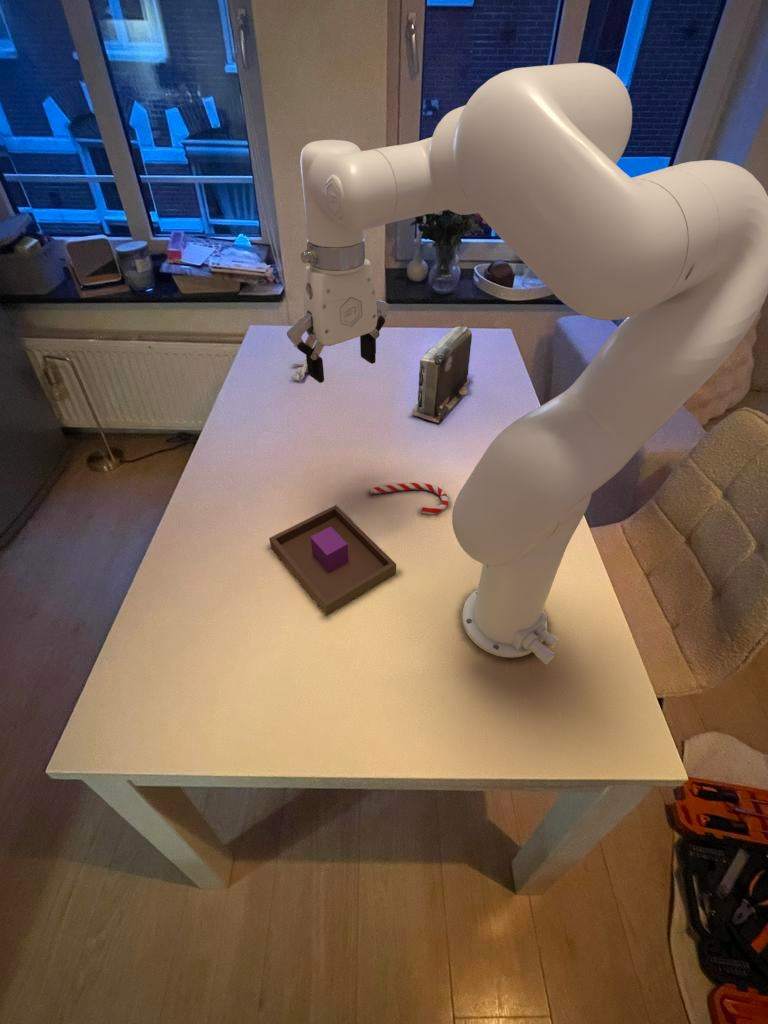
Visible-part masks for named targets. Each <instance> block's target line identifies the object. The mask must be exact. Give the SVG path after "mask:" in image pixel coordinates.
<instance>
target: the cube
mask: <svg viewBox="0 0 768 1024" xmlns="http://www.w3.org/2000/svg"><path fill="white" fill-rule="evenodd" d="M310 538H311V546H312V553H313V555H314V557H315V558H316V559H317V560H318V561H319V562H320V563H321V565H322V566H323V567H324V568H325V569H326V570H327V571H328V573H329V572H331V571H333V570H335V569H336V568H338V567H340V566H342V565H344V564H345V563H347V562H349V559H348V544H347V543H346V542H345V541H344V540H343V539H342V538H341V537H340V536H339V535H338V534H337V532H336V531H335V530H334V529H333V528H332V527H331V526H330V527H328V528H327V529H325V530H323V531H321V532H319V533H317V534H315V535H313V536H311V537H310Z"/></svg>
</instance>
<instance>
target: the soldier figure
mask: <svg viewBox="0 0 768 1024" xmlns="http://www.w3.org/2000/svg"><path fill="white" fill-rule="evenodd" d="M313 347H314V345H313ZM313 347H312V349H313ZM292 366H294V367H295V368H296V367H297V366H298V367H299V368H296V371H295V374H296V376H294V375H292V376H290V377H291V379H292V380H294V381H296V382H300V379H301V378H305V374H306V373H308V369H307V359H306V358H305V359H304V362H303V361H302V362H295V363H293V364H292Z"/></svg>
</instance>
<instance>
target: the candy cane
mask: <svg viewBox="0 0 768 1024" xmlns="http://www.w3.org/2000/svg"><path fill="white" fill-rule="evenodd" d="M411 490H412V491H413V490H416V491H417V490H418V491H419V490H421V491H427V492H431V493H434V494H436V495H437V496H438V497H439V498H440V500H441V502H440V504H439V505H438V506H436V507H426V506H425V507H424V506H423V507H422V508H420V509H421V510H420V512H421V514H425V515H436V514H440V513H442V512H443V511H445V510H446V509H447V508H448V505H449V496H448V495H447V493H446V492H445V491H444V490H443V489H441V488H440V487H438V486H437V485H434V484H431V483H430V484H429V483H424V482H403V483H393V484H386V485H380V486H374V487H371V488H370V489H369V492H370V494H371V495H377V494H382V493H383V494H384V493H389V492H397V491H411Z"/></svg>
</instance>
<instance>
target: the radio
mask: <svg viewBox="0 0 768 1024" xmlns="http://www.w3.org/2000/svg"><path fill="white" fill-rule="evenodd" d="M472 340H473V333H472V331H471V330H470V328H469V327H467V326H466V325H464V324H460V325H459V326H455V327H453V328H452V329H451V330H449V331H448V332H447V333H446V334H445V335H444V336H443V337H442V338H441V339H439V340H438V341H437V342H436V343H435V345H433V346H432V347H431V348H429V349H428V350H426V352H425V354H424V355H423V356H422V357H421V358H420V360H419V370H418V371H419V372H418V392H417V404H416V405H415V406H414V407H413V409H412V411H411V413H412V414H411V415H412V416H415V417H419V418H422V419H425V420H428V421H430V422H434V423H440V422H441V421H442V420H443V419H444V418H445V417H446V416H447V415H448V414H449V413H450V412H451V411H452V409H454V408H455V406H456V405H457V404H458V403H459V402H460V401H461V400H462V399H463V398H464V397H465V396H466V395H467V394H468V389H467V387H466V386H467V385H468V384H469V382H470V380H469V379H468V376H469V367H470V366H469V365H470V360H471V359H470V358H471V350H472V349H471V347H472Z"/></svg>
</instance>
